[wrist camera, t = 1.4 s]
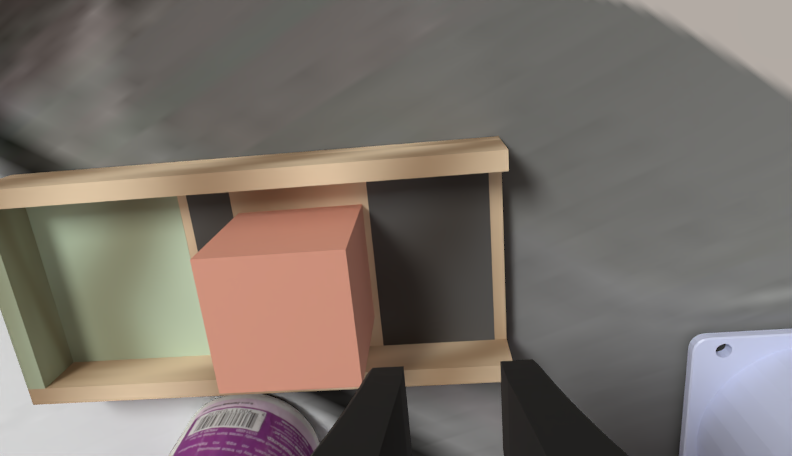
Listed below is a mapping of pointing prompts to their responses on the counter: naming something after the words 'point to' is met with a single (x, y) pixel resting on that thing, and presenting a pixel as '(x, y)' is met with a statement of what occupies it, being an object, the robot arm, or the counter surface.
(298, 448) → the pill bottle
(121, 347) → the box
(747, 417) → the robot arm
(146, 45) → the counter surface
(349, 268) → the red block
